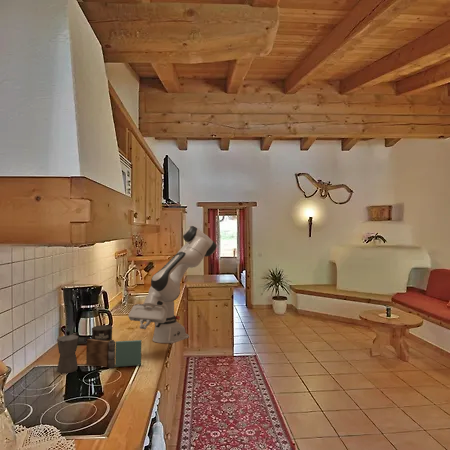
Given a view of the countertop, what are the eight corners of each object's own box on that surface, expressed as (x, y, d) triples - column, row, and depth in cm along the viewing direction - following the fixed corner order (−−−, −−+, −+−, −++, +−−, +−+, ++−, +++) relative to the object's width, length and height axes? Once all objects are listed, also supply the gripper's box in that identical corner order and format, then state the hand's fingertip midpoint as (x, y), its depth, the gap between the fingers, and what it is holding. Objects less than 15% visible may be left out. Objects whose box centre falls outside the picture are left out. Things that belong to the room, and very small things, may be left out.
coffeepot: (68, 376, 162) (69, 336, 162) (49, 374, 163) (50, 334, 163) (86, 363, 177) (87, 326, 177) (69, 362, 178) (69, 325, 178)
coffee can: (111, 356, 187) (112, 329, 187) (90, 358, 184) (90, 330, 184) (112, 350, 196) (112, 324, 197) (92, 351, 194) (92, 325, 194)
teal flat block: (107, 367, 171) (108, 343, 171) (108, 365, 174) (108, 341, 174) (141, 365, 174) (141, 341, 174) (141, 363, 177) (141, 339, 177)
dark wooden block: (85, 364, 175) (85, 338, 176) (89, 362, 178) (89, 336, 178) (112, 368, 171) (112, 341, 171) (116, 366, 174) (116, 339, 174)
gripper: (132, 300, 193) (122, 323, 183) (167, 303, 187) (159, 326, 178) (136, 307, 197) (126, 329, 187) (170, 309, 192) (162, 333, 182)
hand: (142, 328), depth 182 cm, fingers closed
